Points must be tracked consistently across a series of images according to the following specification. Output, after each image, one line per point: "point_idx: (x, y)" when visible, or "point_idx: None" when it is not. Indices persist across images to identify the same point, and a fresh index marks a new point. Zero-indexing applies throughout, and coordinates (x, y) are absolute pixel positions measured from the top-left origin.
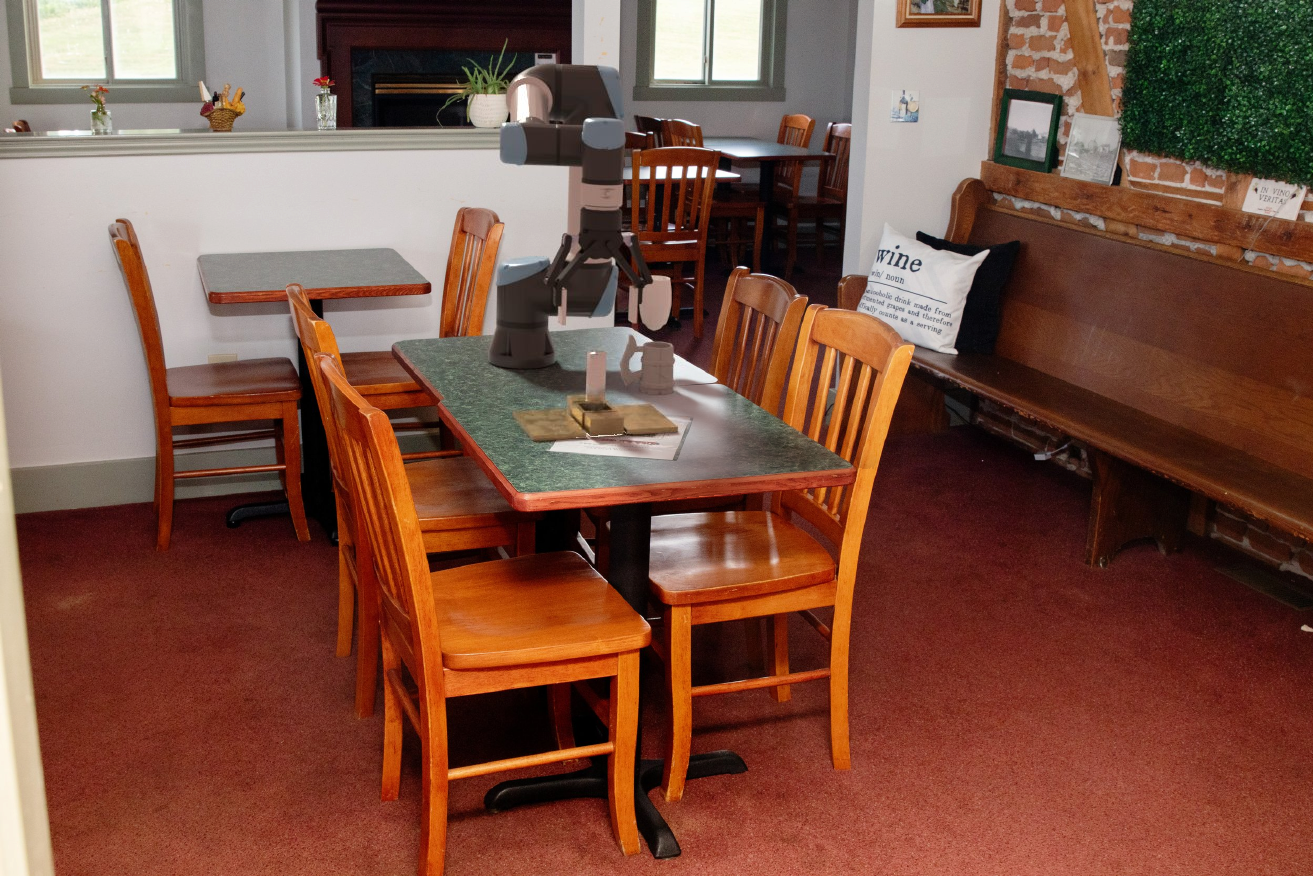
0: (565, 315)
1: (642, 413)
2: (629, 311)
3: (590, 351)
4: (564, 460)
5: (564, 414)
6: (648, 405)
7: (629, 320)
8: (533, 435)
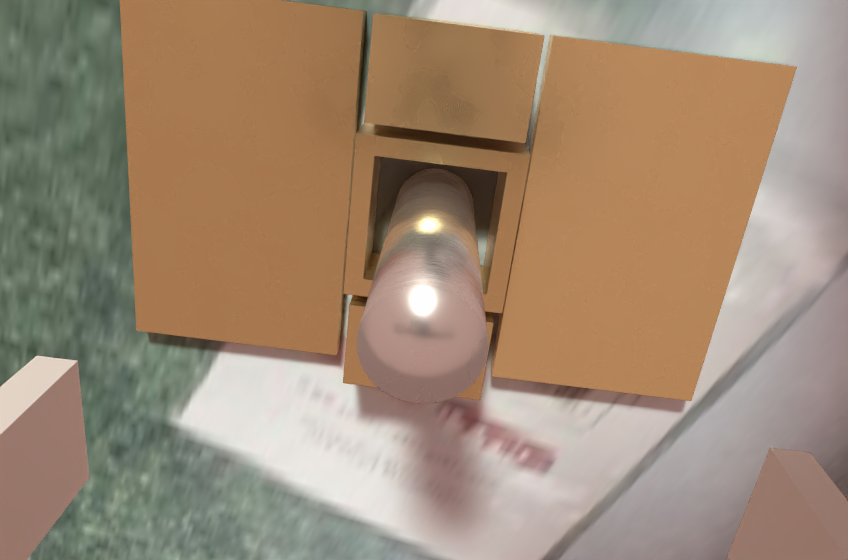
0: (30, 545)
1: (667, 202)
2: (805, 539)
3: (391, 310)
4: (200, 509)
5: (337, 102)
6: (771, 91)
7: (758, 482)
8: (139, 329)
